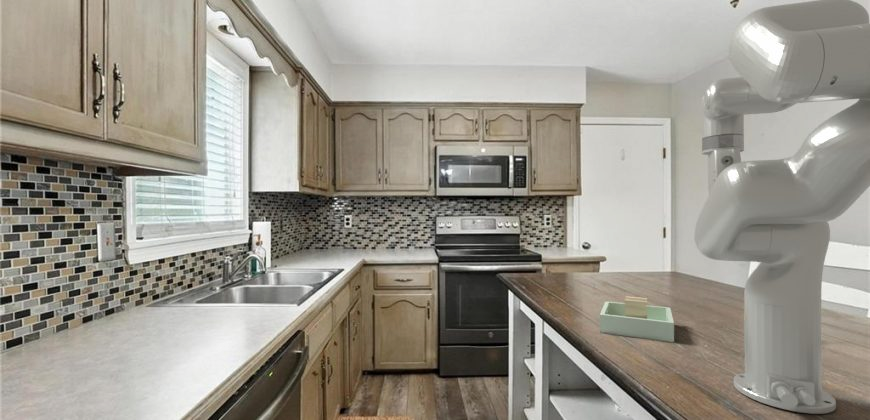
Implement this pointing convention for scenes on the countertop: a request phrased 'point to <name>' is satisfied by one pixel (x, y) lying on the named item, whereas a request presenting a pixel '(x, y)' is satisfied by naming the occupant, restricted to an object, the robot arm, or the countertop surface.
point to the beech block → (636, 307)
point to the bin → (637, 322)
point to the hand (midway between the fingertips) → (723, 223)
